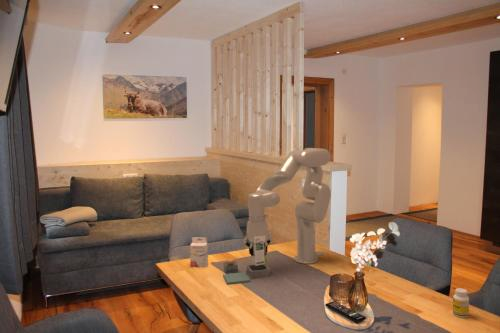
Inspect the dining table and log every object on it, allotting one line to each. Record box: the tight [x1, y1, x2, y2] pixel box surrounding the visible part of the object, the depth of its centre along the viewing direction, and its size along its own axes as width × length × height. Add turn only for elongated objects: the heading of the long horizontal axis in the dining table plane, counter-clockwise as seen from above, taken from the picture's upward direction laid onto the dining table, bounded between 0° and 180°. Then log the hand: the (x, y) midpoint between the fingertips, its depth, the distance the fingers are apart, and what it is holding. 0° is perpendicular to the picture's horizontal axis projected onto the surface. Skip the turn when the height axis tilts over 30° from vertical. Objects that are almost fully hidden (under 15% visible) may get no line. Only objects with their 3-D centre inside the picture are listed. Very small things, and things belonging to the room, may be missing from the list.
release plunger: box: [225, 257, 235, 265], centre depth 215 cm, size 4×4×6 cm
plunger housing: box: [223, 260, 239, 274], centre depth 215 cm, size 6×6×4 cm
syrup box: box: [250, 236, 267, 266], centre depth 209 cm, size 6×6×14 cm
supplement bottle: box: [452, 287, 470, 319], centre depth 162 cm, size 5×5×10 cm
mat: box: [222, 271, 251, 286], centre depth 205 cm, size 11×11×1 cm
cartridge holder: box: [246, 264, 271, 280], centre depth 210 cm, size 9×9×4 cm
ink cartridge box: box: [189, 236, 209, 268], centre depth 225 cm, size 9×5×15 cm, turn 84°
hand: (258, 254), depth 210 cm, fingers closed on syrup box, 6 cm apart
